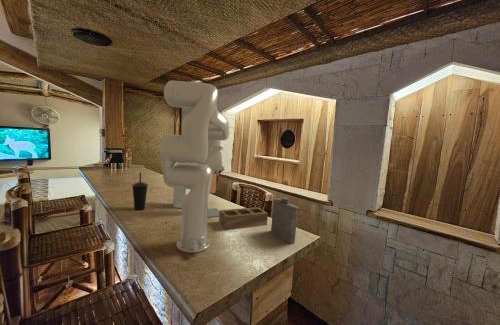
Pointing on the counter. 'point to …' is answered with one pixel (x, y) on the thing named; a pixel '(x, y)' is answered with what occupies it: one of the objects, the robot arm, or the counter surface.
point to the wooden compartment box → (242, 218)
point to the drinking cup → (139, 195)
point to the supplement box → (179, 196)
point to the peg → (213, 183)
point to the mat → (213, 213)
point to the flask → (284, 220)
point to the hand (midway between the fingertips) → (211, 182)
